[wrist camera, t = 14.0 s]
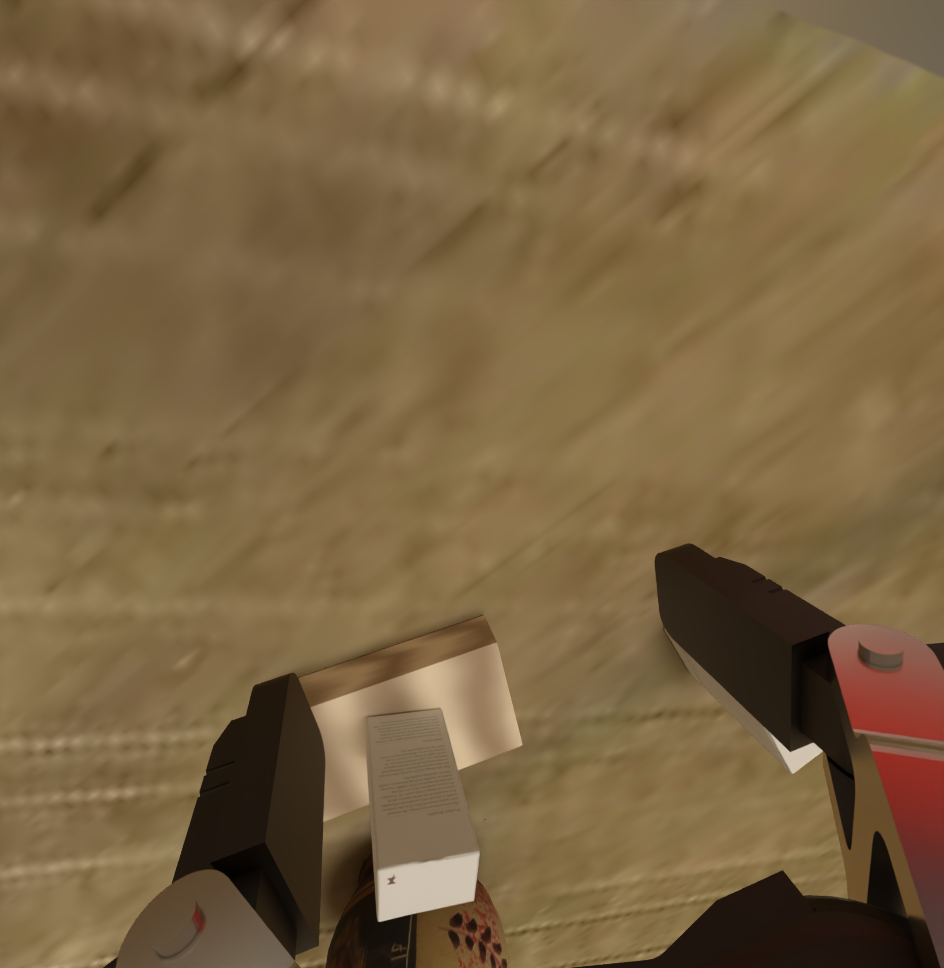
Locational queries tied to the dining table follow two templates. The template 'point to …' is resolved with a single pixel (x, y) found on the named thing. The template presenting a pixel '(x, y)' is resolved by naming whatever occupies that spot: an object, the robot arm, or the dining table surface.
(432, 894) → the skincare box
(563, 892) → the dining table surface
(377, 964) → the ceramic jug
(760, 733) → the supplement box
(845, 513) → the dining table surface
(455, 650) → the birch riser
